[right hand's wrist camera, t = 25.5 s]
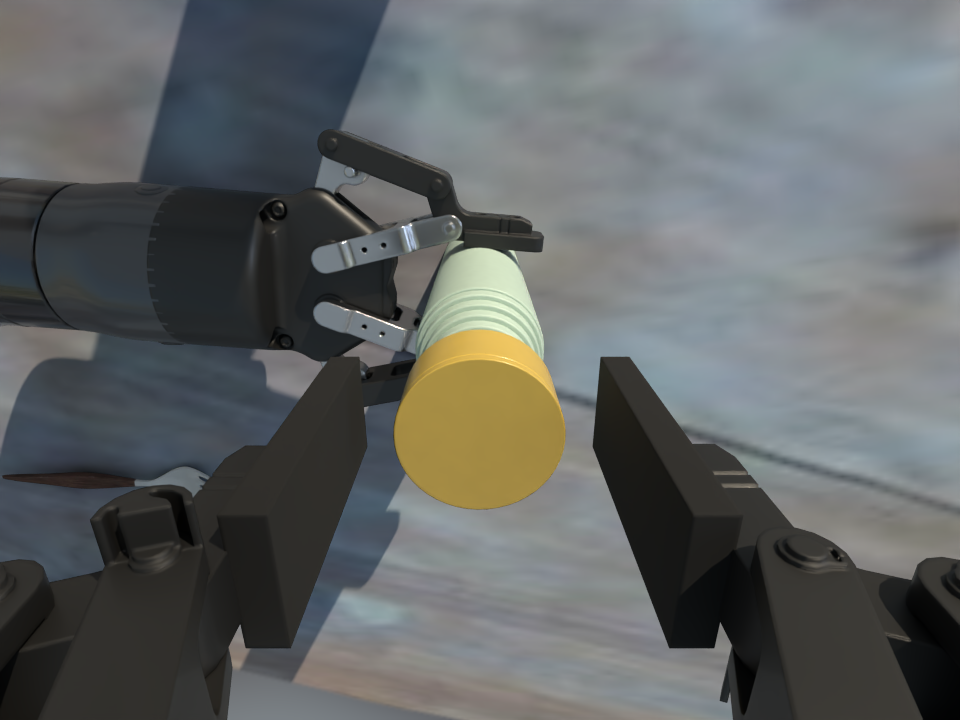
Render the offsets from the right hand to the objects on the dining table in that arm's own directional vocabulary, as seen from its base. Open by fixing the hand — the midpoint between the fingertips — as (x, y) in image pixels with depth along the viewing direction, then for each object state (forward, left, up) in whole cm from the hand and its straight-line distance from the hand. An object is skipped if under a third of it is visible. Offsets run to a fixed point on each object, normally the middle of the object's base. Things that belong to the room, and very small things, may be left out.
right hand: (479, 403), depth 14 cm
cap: (0, 0, +2) cm, 2 cm away
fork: (-10, +27, -19) cm, 35 cm away
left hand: (-1, -3, -13) cm, 13 cm away
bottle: (0, 0, -19) cm, 19 cm away
